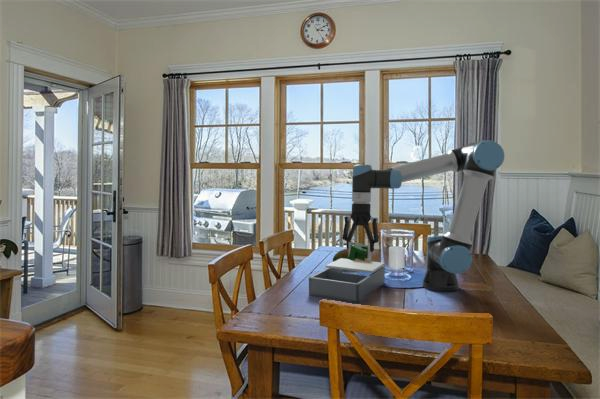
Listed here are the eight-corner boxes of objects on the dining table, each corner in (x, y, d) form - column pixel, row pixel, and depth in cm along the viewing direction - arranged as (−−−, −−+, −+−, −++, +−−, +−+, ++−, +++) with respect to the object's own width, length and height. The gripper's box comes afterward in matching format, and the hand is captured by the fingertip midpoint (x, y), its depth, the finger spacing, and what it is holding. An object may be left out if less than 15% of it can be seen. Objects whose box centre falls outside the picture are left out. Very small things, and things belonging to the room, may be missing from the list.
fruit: (360, 268, 208) (360, 250, 208) (339, 271, 204) (339, 252, 203) (349, 264, 219) (349, 246, 219) (329, 266, 215) (329, 248, 214)
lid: (384, 265, 181) (384, 255, 181) (372, 273, 166) (372, 262, 166) (340, 260, 192) (340, 251, 192) (325, 267, 177) (325, 257, 177)
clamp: (361, 271, 157) (364, 253, 152) (347, 266, 159) (349, 249, 154) (369, 255, 166) (373, 238, 162) (356, 251, 168) (359, 234, 164)
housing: (384, 282, 182) (384, 266, 181) (358, 303, 153) (358, 284, 153) (341, 276, 193) (340, 261, 192) (308, 295, 164) (308, 277, 163)
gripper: (334, 202, 161) (333, 257, 162) (383, 204, 151) (381, 263, 152) (341, 201, 167) (340, 254, 169) (388, 203, 158) (386, 259, 159)
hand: (359, 258), depth 161 cm, fingers closed on clamp, 7 cm apart
